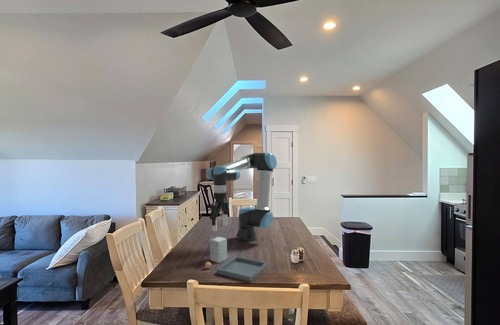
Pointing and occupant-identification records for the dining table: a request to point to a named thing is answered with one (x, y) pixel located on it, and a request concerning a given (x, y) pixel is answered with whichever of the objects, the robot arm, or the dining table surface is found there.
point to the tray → (242, 268)
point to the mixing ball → (207, 265)
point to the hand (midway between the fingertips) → (220, 227)
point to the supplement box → (218, 249)
